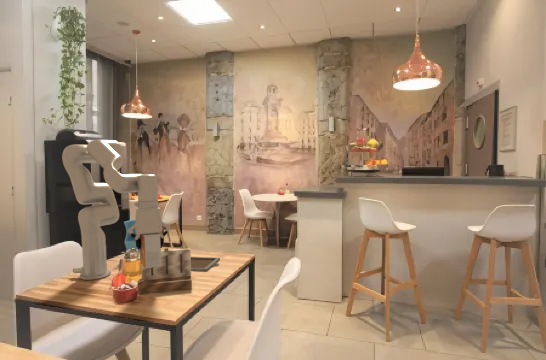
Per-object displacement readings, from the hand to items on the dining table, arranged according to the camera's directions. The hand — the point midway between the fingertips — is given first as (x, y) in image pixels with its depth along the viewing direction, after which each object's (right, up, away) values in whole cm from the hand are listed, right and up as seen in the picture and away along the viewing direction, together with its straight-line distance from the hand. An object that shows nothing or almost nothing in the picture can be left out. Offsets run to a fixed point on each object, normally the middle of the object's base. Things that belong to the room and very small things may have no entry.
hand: (150, 247), depth 139 cm
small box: (0, -7, 0) cm, 7 cm away
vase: (-24, -15, +45) cm, 53 cm away
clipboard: (+8, -15, +32) cm, 37 cm away
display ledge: (+6, -16, +2) cm, 17 cm away
